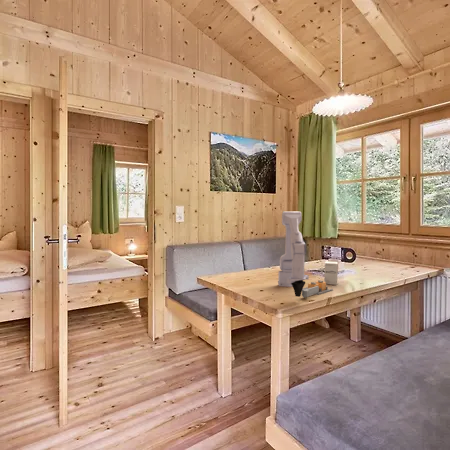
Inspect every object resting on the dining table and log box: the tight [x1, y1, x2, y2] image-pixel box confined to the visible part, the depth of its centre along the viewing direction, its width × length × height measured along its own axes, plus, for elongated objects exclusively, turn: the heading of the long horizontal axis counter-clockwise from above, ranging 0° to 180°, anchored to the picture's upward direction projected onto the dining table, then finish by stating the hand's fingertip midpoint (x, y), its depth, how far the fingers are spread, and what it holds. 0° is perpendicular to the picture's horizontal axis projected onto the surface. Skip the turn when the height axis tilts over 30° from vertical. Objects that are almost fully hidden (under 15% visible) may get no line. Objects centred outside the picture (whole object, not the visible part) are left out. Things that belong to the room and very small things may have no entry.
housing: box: [302, 285, 334, 296], centre depth 167 cm, size 14×13×2 cm
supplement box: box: [323, 261, 339, 286], centre depth 186 cm, size 7×7×13 cm
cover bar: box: [301, 286, 319, 298], centre depth 156 cm, size 13×3×4 cm, turn 130°
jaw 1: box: [307, 281, 319, 289], centre depth 164 cm, size 4×4×5 cm
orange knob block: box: [315, 280, 327, 291], centre depth 168 cm, size 4×4×5 cm
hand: (297, 296), depth 150 cm, fingers closed
